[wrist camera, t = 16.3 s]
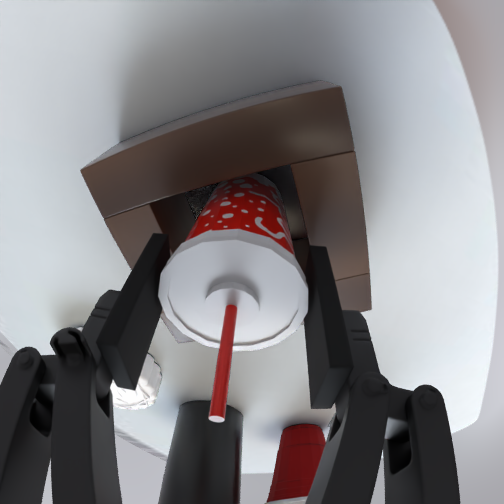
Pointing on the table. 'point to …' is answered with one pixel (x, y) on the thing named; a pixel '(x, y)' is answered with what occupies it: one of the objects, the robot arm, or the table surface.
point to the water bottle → (204, 457)
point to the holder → (239, 164)
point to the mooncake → (139, 388)
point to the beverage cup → (236, 277)
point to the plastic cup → (296, 464)
